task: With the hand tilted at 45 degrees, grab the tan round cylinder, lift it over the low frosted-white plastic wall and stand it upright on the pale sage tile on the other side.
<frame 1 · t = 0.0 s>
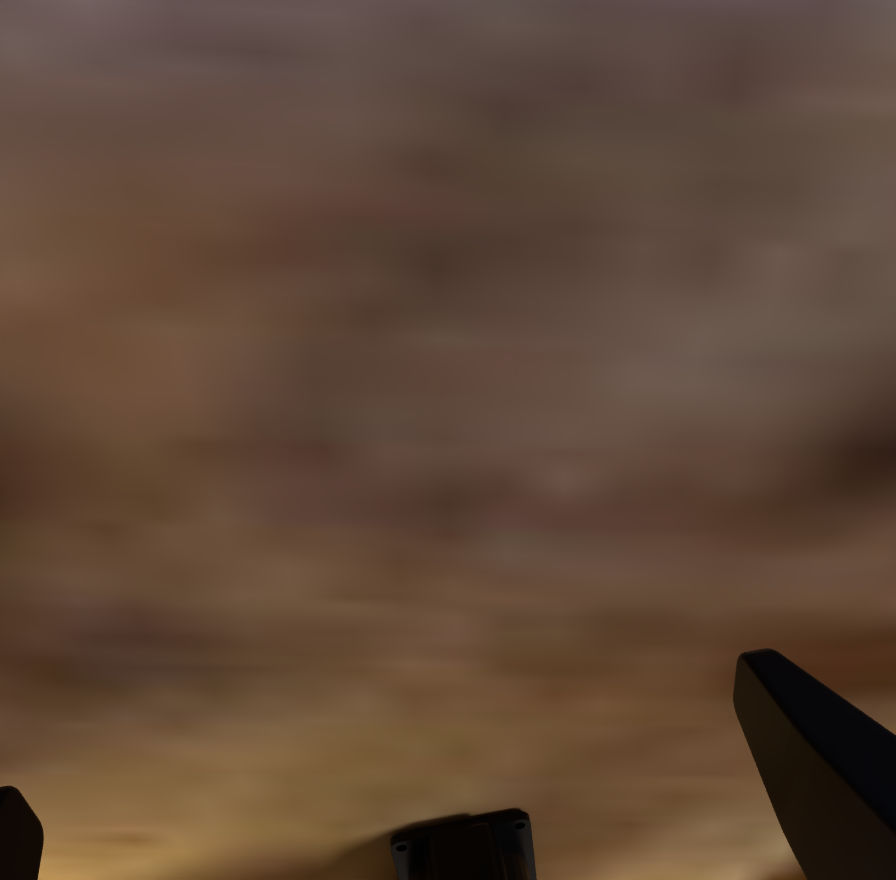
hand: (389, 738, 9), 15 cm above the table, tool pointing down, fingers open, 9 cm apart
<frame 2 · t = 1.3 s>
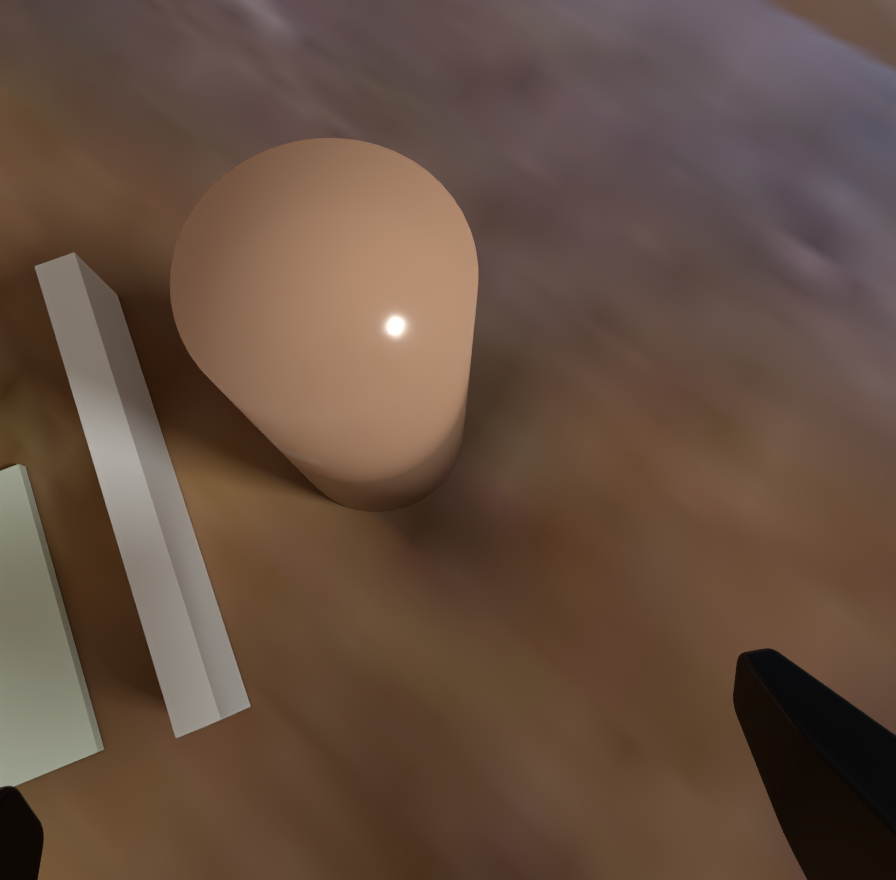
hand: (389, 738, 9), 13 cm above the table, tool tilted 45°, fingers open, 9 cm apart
tan round cylinder: (377, 426, 24), on the table
low wall: (161, 494, 24), on the table
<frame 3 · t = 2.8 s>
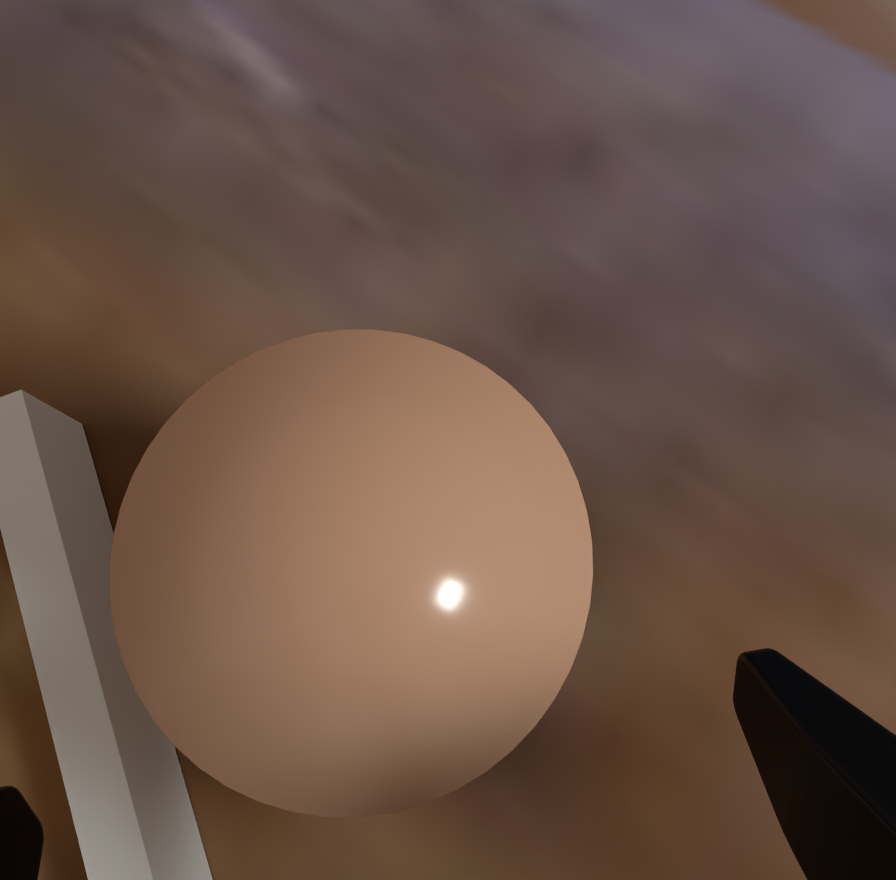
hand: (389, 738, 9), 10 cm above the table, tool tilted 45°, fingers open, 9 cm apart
tan round cylinder: (404, 596, 19), on the table
low wall: (131, 686, 19), on the table
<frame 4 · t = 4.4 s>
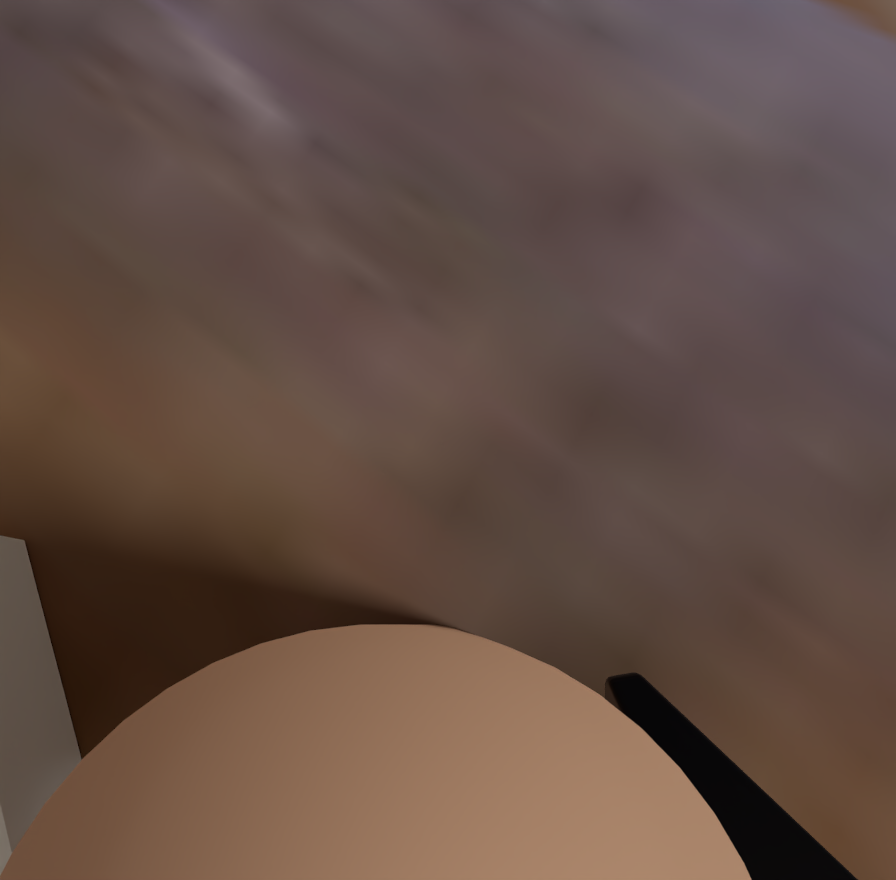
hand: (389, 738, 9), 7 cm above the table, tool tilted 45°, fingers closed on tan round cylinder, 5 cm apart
tan round cylinder: (423, 762, 16), on the table, touching gripper
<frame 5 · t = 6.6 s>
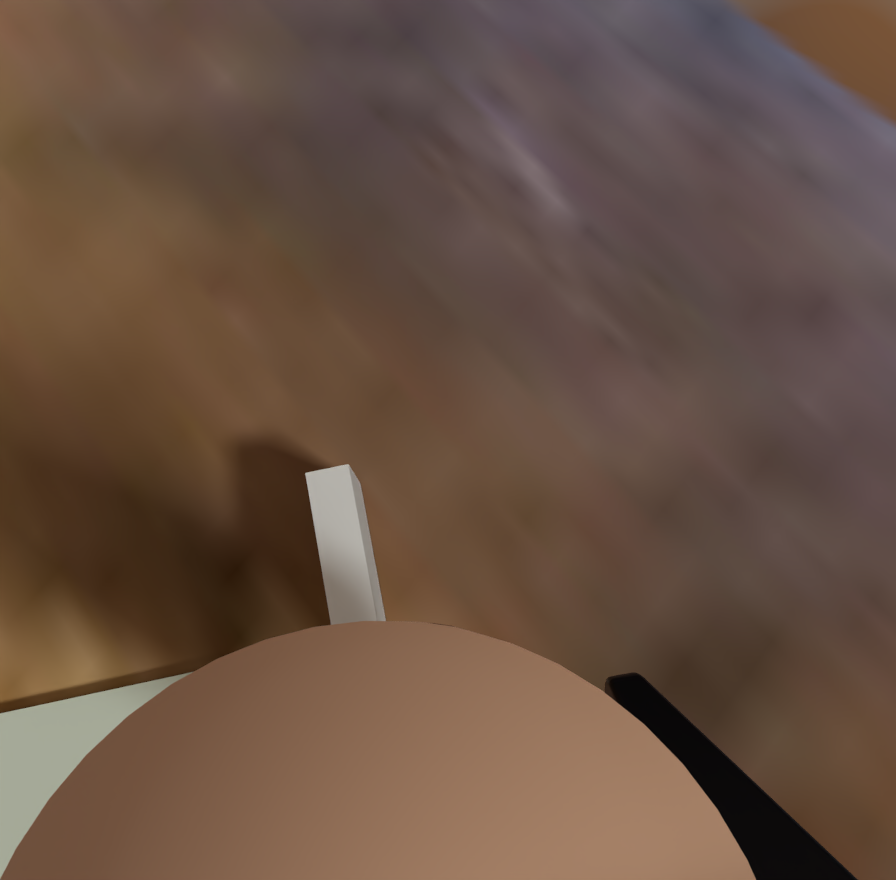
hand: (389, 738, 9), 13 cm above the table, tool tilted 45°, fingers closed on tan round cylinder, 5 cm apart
tan round cylinder: (424, 761, 16), point 7 cm above the table, touching gripper
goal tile: (108, 858, 21), on the table
low wall: (383, 719, 22), on the table
when the fingers open (8 cm above the table, at t = 9.1 s): tan round cylinder drops 1 cm, resting on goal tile.
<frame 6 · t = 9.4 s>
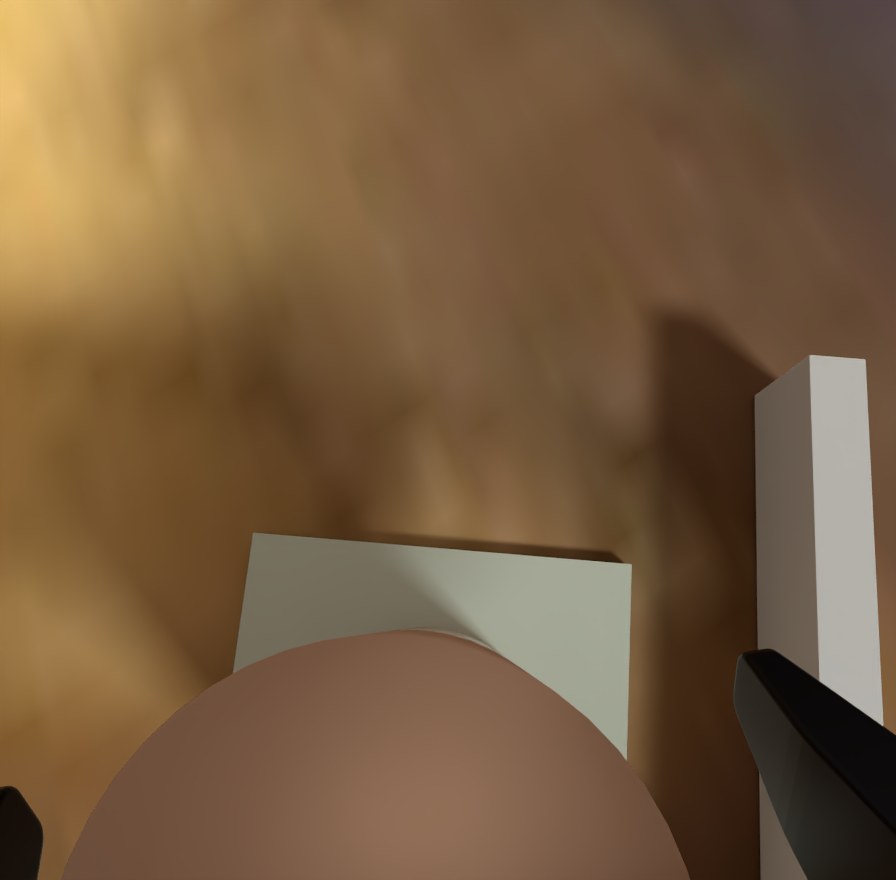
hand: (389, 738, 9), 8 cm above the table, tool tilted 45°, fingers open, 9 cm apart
tan round cylinder: (424, 754, 17), resting on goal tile
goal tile: (424, 747, 17), on the table
low wall: (784, 685, 18), on the table
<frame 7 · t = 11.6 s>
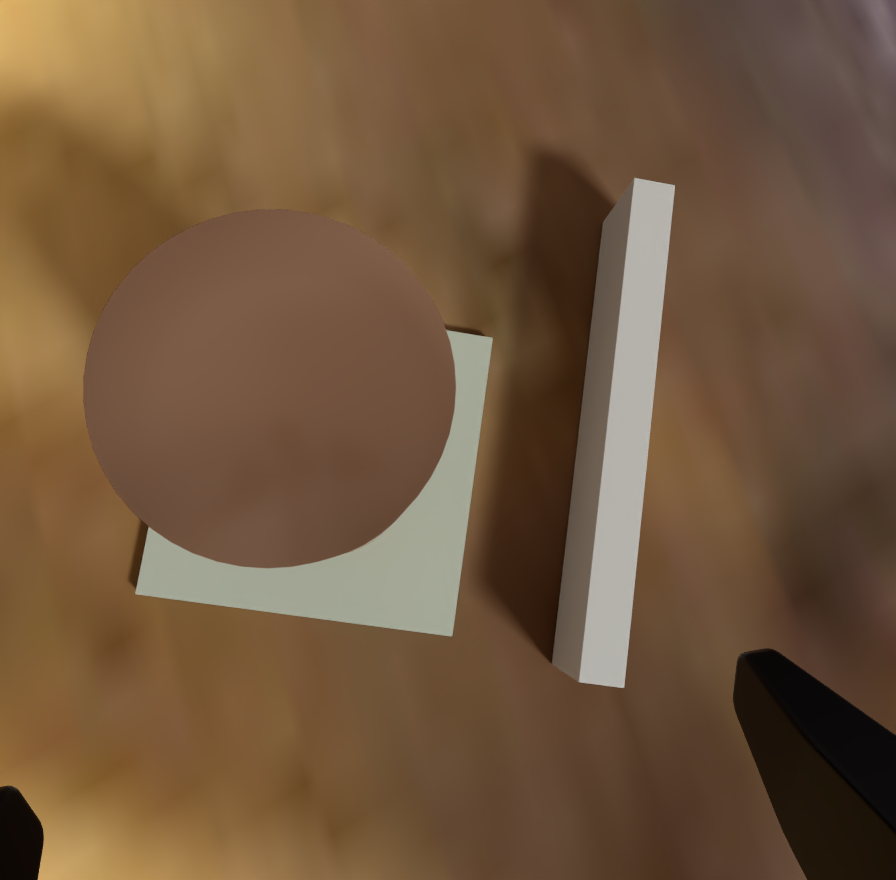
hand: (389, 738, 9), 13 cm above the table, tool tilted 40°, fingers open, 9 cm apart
tan round cylinder: (321, 462, 22), resting on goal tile
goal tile: (323, 461, 23), on the table
low wall: (597, 436, 24), on the table
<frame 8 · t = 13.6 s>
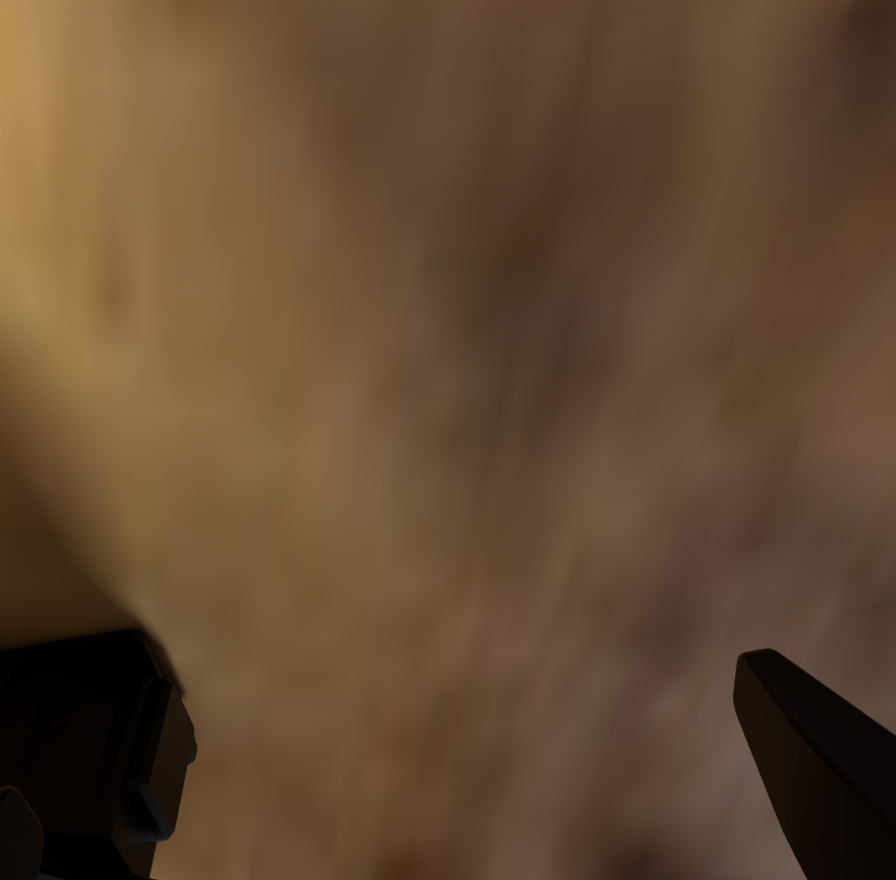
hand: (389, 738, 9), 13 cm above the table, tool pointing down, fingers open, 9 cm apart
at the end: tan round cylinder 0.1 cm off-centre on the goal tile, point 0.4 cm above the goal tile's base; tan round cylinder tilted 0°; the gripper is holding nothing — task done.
